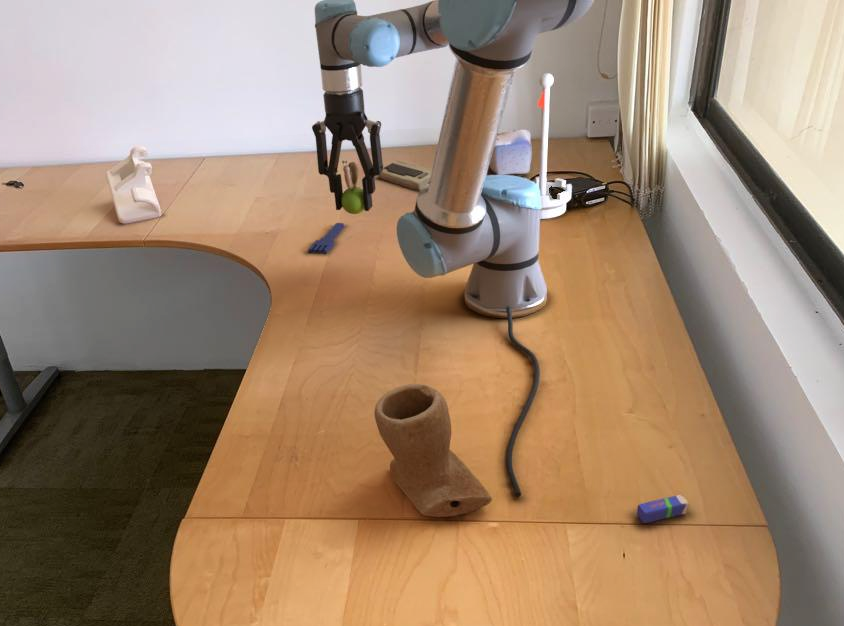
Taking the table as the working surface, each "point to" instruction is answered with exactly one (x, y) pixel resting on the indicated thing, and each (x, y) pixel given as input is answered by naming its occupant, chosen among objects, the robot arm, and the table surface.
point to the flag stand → (547, 202)
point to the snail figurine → (352, 190)
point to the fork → (326, 240)
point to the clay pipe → (426, 452)
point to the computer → (406, 174)
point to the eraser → (662, 508)
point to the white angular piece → (133, 188)
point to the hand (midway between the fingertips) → (354, 207)
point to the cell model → (512, 153)
